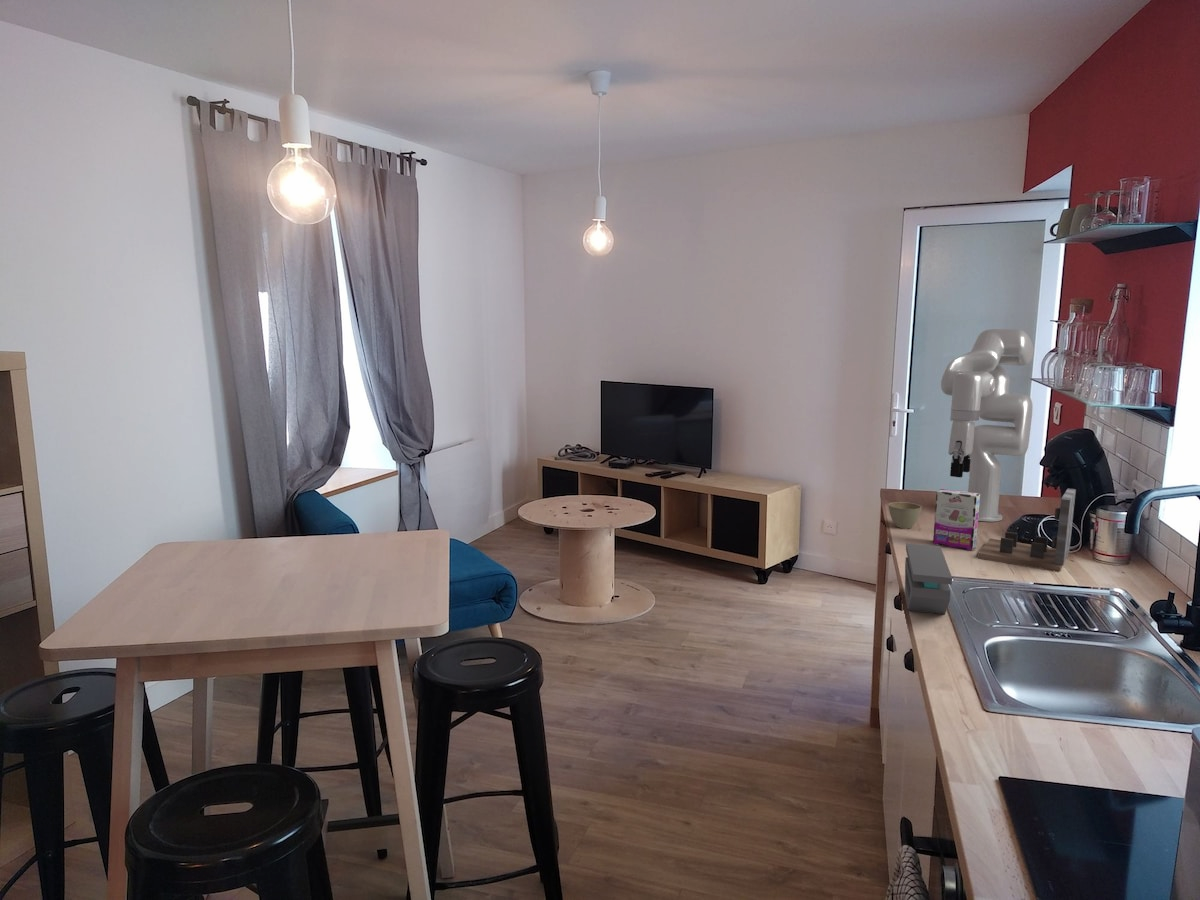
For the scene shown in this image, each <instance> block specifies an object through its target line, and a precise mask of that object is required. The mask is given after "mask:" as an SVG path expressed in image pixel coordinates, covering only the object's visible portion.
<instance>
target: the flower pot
mask: <svg viewBox="0 0 1200 900" xmlns="http://www.w3.org/2000/svg"><path fill="white" fill-rule="evenodd" d="M922 508H923V506H922V505H920V504H917V503H913V502H903V501H898V502H897V501H895V502H889V503H888V510H889V514H890V515H889V516H890V518H891V520H892V522H893V524H894V526H895V527H896V526H897V527H896V528H898V527H900V528H899V529H903V528H910V529H912V528H914V526H915V525H916V523H917V522H918V520H919V518H920V515H921V512H922Z"/></svg>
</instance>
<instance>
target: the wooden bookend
mask: <svg viewBox="0 0 1200 900" xmlns="http://www.w3.org/2000/svg"><path fill="white" fill-rule="evenodd" d="M1076 494H1077V489H1075V488H1069V487H1068V488H1067V489H1066V490H1065V492H1064V494H1063V495H1062V497H1061V499H1060V506H1059V507H1055V509H1054V510H1055V511H1054V520H1056V521H1058V525H1057V526H1058V527H1057V535H1056V536H1052V539H1051V547H1050V546H1049V547H1048V540H1049V537H1048V536H1047V537H1046V536H1041V535H1040V536H1039V535H1035V537H1034V542H1033V541H1031V544H1030V543H1024V542H1023V543H1022V542H1018V537H1019V536H1018V534H1019V533H1018V532H1013V531H1005V533H1004V537H1000V539H995V538H989V539H988V540H987V541H986V543H985V544H984V545H983V546H982V547H981V548H980V550H979V551H978V552H977V559H981V560H988V561H994V562H997V563H998V562H1000V563H1005V564H1012V565H1017V566H1023V567H1029V568H1035V569H1040V570H1046V569H1047V571H1052V570H1055V571H1054V572H1058V571H1060V572H1061V570H1062V568H1063V566H1064V565H1065V562H1066V560H1067V558H1068V555H1069V554H1070V548H1071V540H1072V530H1073V523H1074V522H1073V520H1074V513H1075V512H1074V511H1075V501H1076Z"/></svg>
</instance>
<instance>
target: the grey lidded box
mask: <svg viewBox="0 0 1200 900" xmlns="http://www.w3.org/2000/svg"><path fill="white" fill-rule="evenodd" d="M905 544H906V545H905V550H906V551H905V552H906V556H907V557H905V561H904V563H905V564H904V596H905V599H906V600H905V601H906V605H907V606H906V607H907V611H911V612H912V611H913V612H923V613H930V614H939V615H946V613H947V610H948V607H949V604H950V601H951V588H950V586H952V585H953V576H952V574H951V571H950V568H949V566H948V563H947V561H946V560H947V559H946V558H945V555H944V553H943V550H942V547H941V545H934V544H933V545H932V544H920V543H905Z"/></svg>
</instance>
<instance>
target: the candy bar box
mask: <svg viewBox="0 0 1200 900" xmlns="http://www.w3.org/2000/svg"><path fill="white" fill-rule="evenodd" d="M935 494H936V496H935V510H934V512H935V513H934V524H933V538H932V544H933V545H936V544H938V545H937V546H942V545H943V547H947V546H948V548H949V547H950V548H954V549H960V550H967V551H973V550H975V549H976V548H977V542H978V531H979V530H978V528H979V521H978V517H979V504H980V494H979V493H971V492H968V491H964V490H963V491H961V490H954V489H944V488H941V489H938V490H937V491H936V493H935Z"/></svg>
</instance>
